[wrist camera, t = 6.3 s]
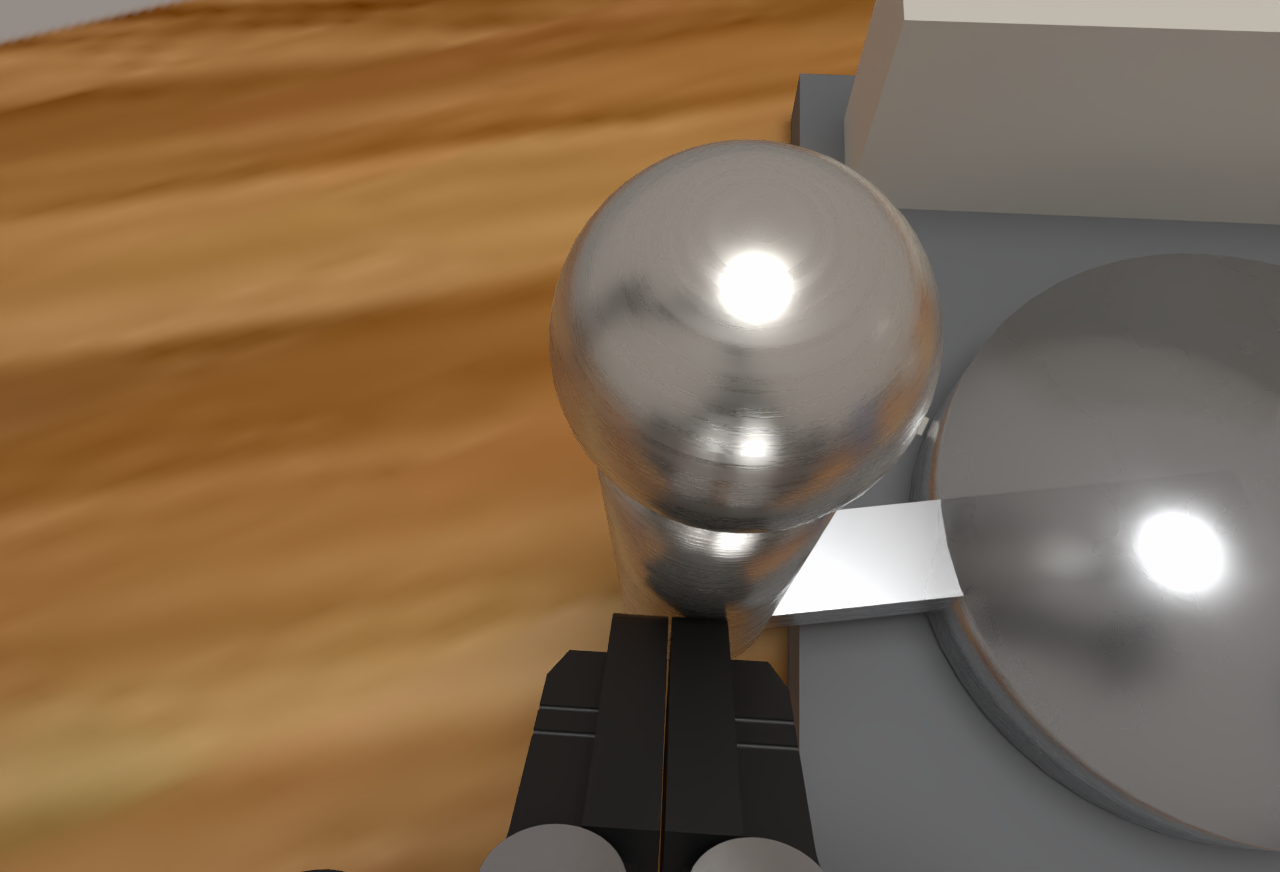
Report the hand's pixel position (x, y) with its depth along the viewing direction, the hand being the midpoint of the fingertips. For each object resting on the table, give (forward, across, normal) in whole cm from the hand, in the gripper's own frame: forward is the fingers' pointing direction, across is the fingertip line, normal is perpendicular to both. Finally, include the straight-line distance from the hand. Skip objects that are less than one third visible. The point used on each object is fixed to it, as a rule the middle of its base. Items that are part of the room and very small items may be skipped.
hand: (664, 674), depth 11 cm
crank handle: (+5, -7, +1) cm, 8 cm away
